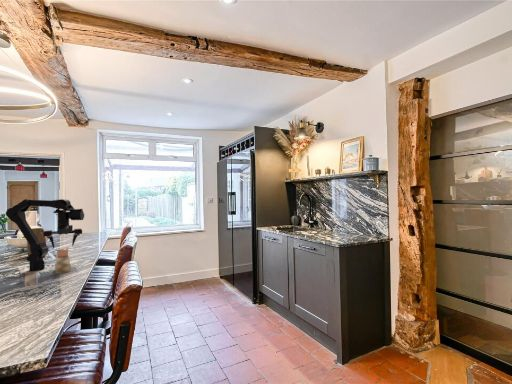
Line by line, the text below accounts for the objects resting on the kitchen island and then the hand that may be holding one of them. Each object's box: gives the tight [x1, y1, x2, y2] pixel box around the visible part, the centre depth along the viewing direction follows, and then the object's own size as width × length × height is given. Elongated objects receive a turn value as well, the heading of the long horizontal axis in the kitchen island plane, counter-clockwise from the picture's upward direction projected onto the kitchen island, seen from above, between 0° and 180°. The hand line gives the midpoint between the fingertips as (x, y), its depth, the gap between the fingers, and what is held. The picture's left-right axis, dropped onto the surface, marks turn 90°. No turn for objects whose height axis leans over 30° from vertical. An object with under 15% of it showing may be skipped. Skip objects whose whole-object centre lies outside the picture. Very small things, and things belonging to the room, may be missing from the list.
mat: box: [48, 266, 78, 276], centre depth 161 cm, size 13×13×1 cm
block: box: [26, 227, 47, 257], centre depth 203 cm, size 11×8×20 cm
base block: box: [54, 262, 72, 273], centre depth 161 cm, size 7×7×4 cm
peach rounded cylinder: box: [56, 248, 69, 258], centre depth 161 cm, size 5×5×4 cm
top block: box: [55, 254, 71, 265], centre depth 161 cm, size 6×6×4 cm
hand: (63, 247), depth 167 cm, fingers open, 9 cm apart
